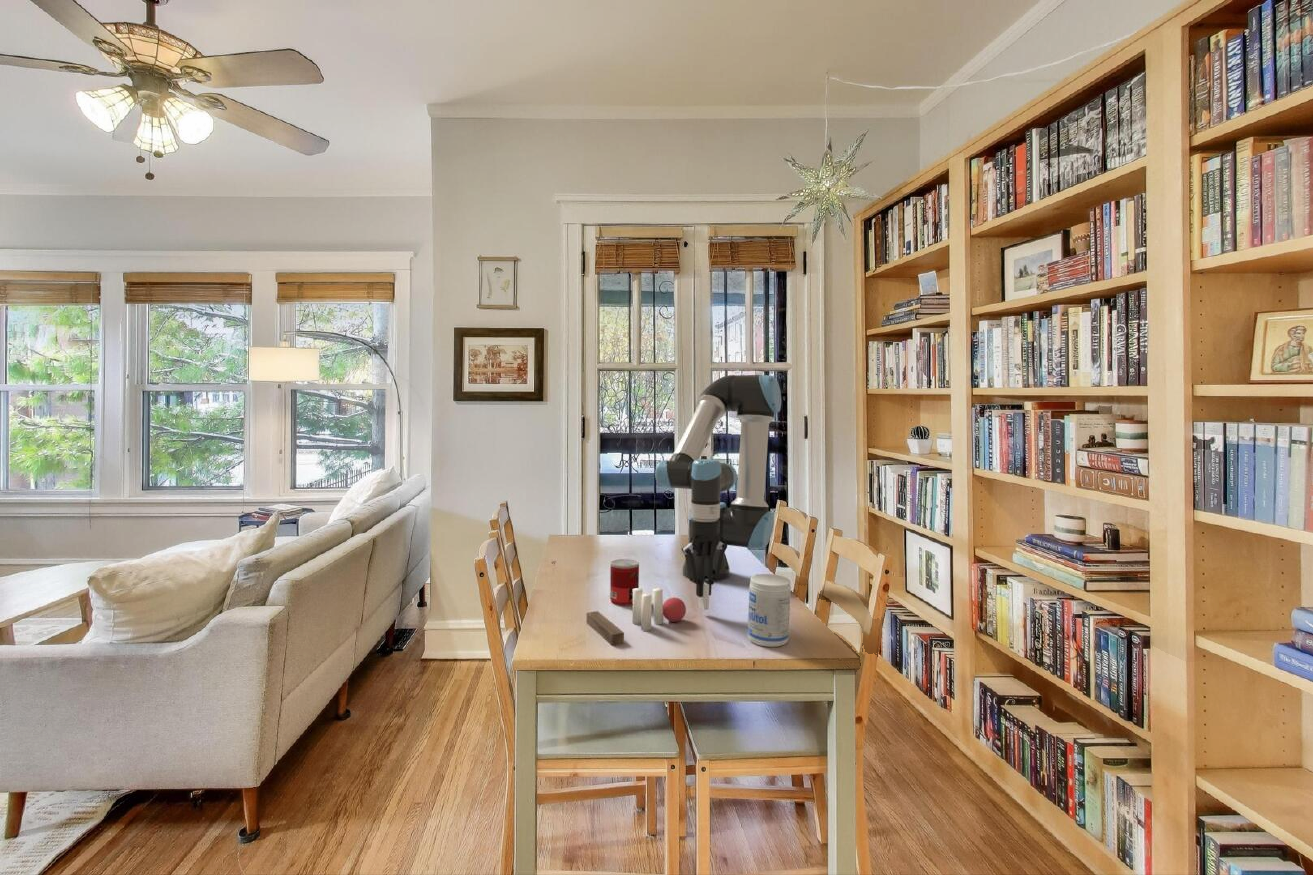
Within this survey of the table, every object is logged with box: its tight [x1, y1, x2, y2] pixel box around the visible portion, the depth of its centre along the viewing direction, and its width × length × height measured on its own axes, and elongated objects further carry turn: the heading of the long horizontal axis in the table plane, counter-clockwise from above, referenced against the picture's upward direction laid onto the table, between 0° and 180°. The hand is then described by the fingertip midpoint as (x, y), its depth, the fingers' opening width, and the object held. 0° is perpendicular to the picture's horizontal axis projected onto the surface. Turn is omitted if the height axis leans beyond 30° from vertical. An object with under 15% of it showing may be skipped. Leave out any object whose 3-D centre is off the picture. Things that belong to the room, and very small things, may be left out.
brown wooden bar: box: [586, 610, 625, 646], centre depth 150 cm, size 3×16×2 cm, turn 27°
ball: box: [663, 597, 687, 623], centre depth 158 cm, size 6×6×6 cm
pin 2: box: [640, 593, 652, 632], centre depth 152 cm, size 2×2×8 cm
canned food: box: [609, 558, 640, 606], centre depth 173 cm, size 8×8×11 cm
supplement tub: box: [747, 573, 792, 648], centre depth 146 cm, size 10×10×15 cm
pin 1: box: [631, 587, 643, 625], centre depth 157 cm, size 2×2×8 cm
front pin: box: [652, 587, 665, 626], centre depth 157 cm, size 2×2×8 cm
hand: (703, 607), depth 163 cm, fingers closed
